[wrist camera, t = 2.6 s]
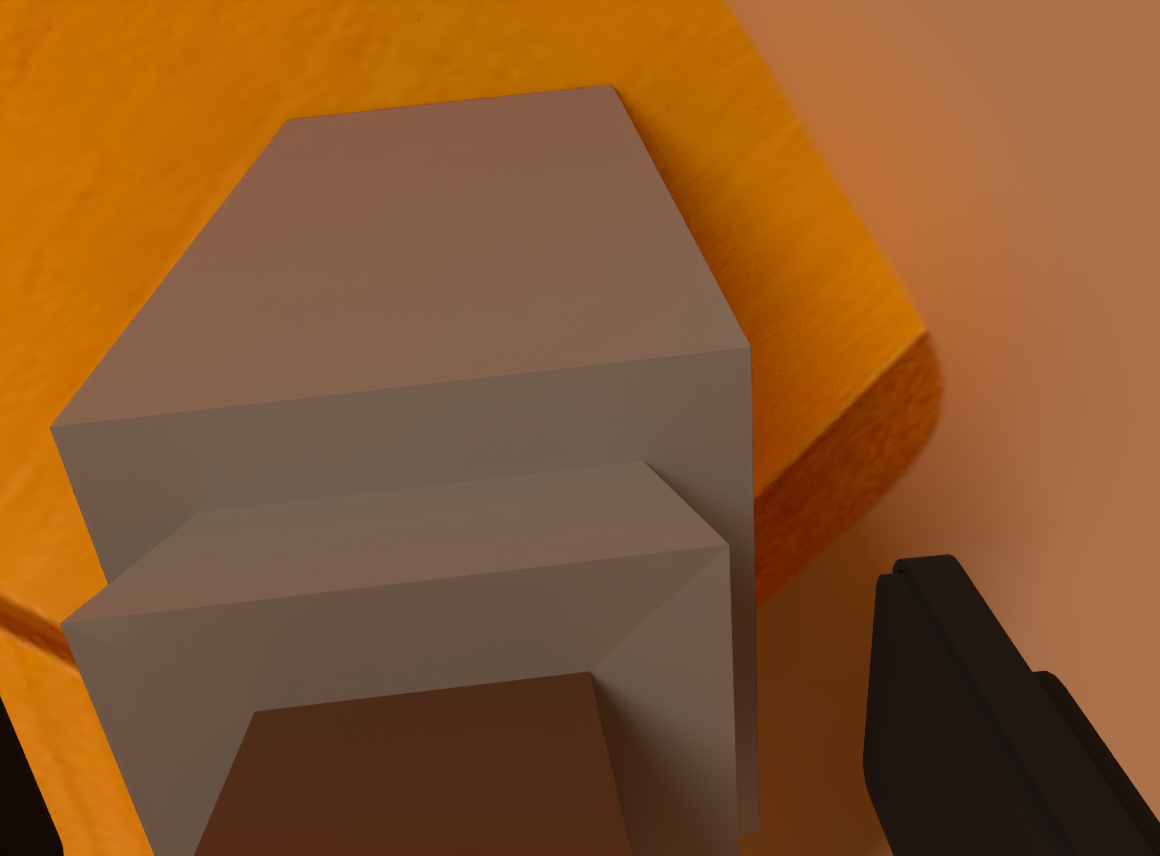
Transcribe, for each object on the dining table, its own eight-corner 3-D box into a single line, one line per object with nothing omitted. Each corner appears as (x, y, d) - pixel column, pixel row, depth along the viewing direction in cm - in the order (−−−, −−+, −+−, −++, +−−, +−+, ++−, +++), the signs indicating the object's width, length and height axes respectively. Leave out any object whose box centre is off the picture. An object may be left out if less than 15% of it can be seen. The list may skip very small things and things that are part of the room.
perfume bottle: (286, 120, 22) (-230, 788, 6) (612, 84, 22) (911, 652, 6) (350, 409, 25) (114, 1335, 9) (634, 377, 25) (870, 1236, 10)
